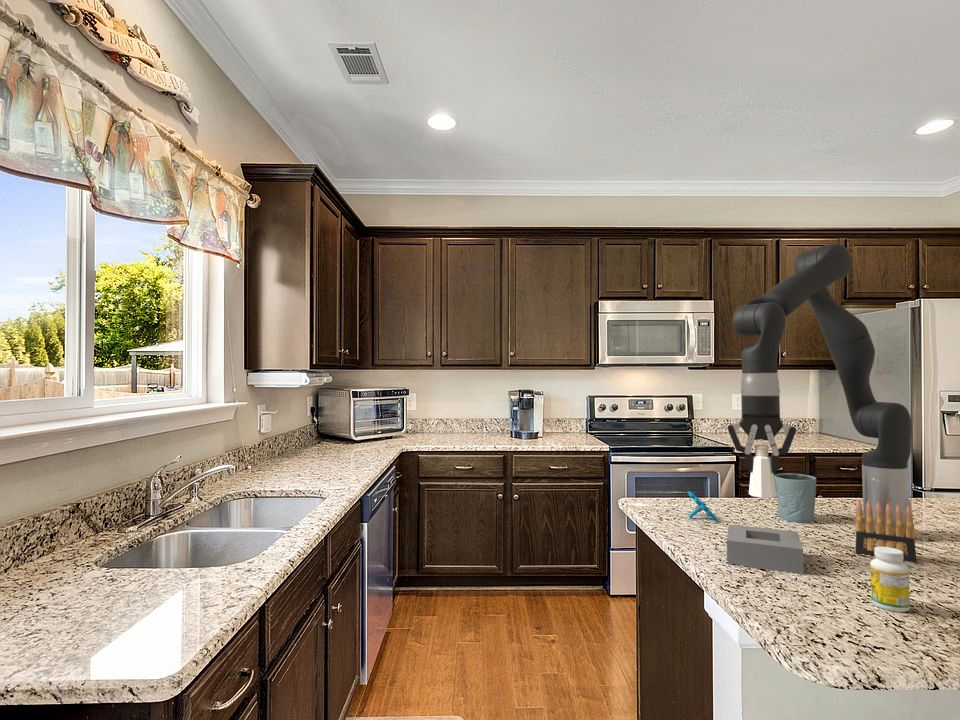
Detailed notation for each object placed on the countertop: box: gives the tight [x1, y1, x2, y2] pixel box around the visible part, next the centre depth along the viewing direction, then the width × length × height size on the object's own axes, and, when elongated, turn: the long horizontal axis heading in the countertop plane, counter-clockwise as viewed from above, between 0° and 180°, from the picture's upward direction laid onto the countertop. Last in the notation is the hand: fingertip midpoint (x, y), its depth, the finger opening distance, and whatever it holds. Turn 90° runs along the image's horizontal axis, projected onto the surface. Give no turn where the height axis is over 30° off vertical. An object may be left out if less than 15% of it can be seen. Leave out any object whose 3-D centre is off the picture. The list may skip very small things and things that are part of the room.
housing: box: [726, 523, 805, 575], centre depth 117 cm, size 14×14×5 cm
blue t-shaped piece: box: [687, 491, 718, 521], centre depth 152 cm, size 11×6×10 cm
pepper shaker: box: [748, 444, 777, 499], centre depth 118 cm, size 5×5×11 cm
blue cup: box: [774, 472, 817, 524], centre depth 150 cm, size 10×10×12 cm
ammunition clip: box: [854, 499, 918, 564], centre depth 119 cm, size 11×2×12 cm, turn 55°
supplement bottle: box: [869, 547, 911, 613], centre depth 93 cm, size 5×5×10 cm
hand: (761, 471), depth 118 cm, fingers closed on pepper shaker, 4 cm apart
